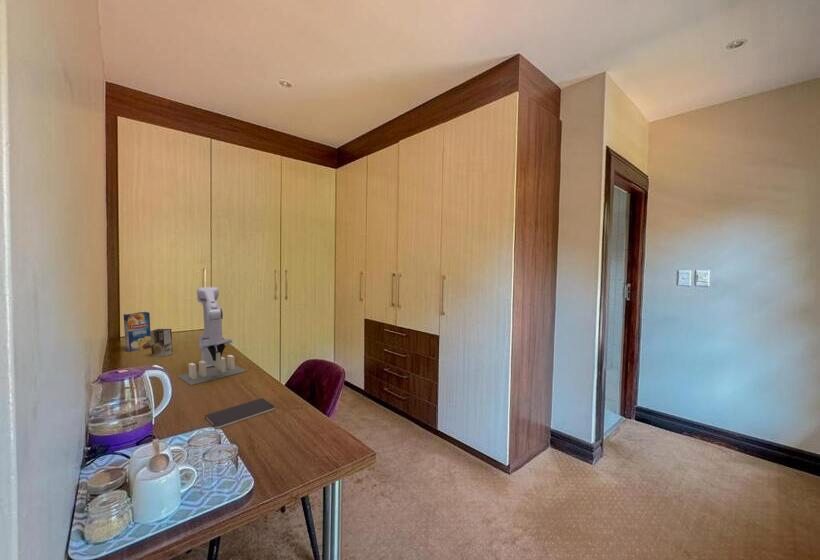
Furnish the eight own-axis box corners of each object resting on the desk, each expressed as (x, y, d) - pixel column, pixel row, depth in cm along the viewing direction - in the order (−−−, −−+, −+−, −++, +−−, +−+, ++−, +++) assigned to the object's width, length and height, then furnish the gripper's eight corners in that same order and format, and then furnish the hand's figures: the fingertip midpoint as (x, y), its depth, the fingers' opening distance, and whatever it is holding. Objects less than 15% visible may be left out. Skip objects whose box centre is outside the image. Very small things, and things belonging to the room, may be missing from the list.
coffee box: (173, 353, 212) (172, 328, 211) (164, 356, 206) (163, 330, 205) (160, 353, 213) (158, 328, 212) (151, 356, 207) (149, 330, 206)
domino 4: (231, 370, 178) (230, 357, 178) (227, 368, 181) (227, 355, 181) (234, 369, 180) (234, 356, 179) (231, 367, 183) (230, 354, 182)
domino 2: (202, 377, 168) (202, 363, 168) (199, 374, 171) (198, 361, 171) (206, 376, 169) (206, 362, 169) (203, 374, 173) (202, 360, 172)
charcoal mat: (177, 376, 170) (177, 375, 170) (231, 364, 190) (231, 363, 190) (190, 385, 157) (190, 384, 157) (247, 371, 177) (246, 370, 177)
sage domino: (216, 367, 166) (216, 353, 165) (213, 365, 169) (212, 351, 168) (220, 366, 167) (220, 352, 167) (217, 364, 170) (216, 350, 170)
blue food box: (147, 346, 232) (145, 311, 231) (151, 347, 228) (149, 312, 227) (125, 350, 222) (123, 314, 221) (129, 351, 218) (127, 315, 217)
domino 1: (192, 379, 165) (191, 365, 164) (189, 377, 168) (188, 363, 167) (196, 378, 166) (195, 364, 166) (193, 376, 169) (192, 362, 169)
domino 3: (222, 372, 175) (221, 359, 174) (218, 370, 178) (217, 357, 178) (225, 371, 176) (225, 358, 176) (222, 369, 179) (221, 356, 179)
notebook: (262, 401, 141) (204, 419, 125) (262, 397, 140) (204, 415, 125) (276, 410, 132) (216, 431, 116) (276, 406, 132) (215, 426, 116)
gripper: (202, 336, 159) (203, 365, 160) (234, 331, 170) (235, 358, 171) (197, 334, 163) (198, 362, 164) (228, 329, 174) (229, 355, 175)
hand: (216, 359), depth 168 cm, fingers closed on sage domino, 2 cm apart
